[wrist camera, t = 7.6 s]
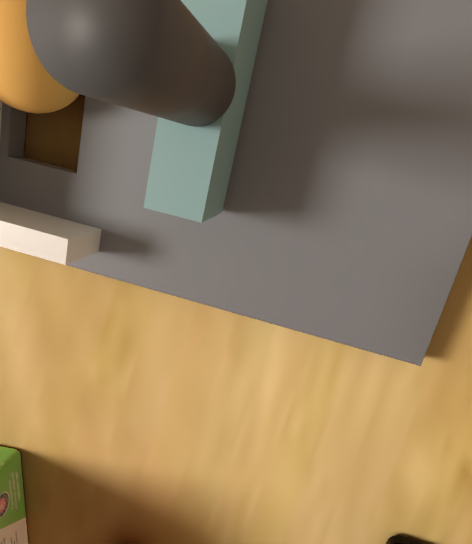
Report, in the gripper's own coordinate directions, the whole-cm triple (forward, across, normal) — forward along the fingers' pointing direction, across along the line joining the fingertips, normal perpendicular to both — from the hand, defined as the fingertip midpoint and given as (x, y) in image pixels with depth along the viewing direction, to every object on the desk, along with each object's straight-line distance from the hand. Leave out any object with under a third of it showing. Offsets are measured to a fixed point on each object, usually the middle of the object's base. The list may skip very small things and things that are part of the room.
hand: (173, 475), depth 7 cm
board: (+11, +4, -7) cm, 14 cm away
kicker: (+10, +3, -7) cm, 13 cm away
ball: (+9, +10, -7) cm, 15 cm away
